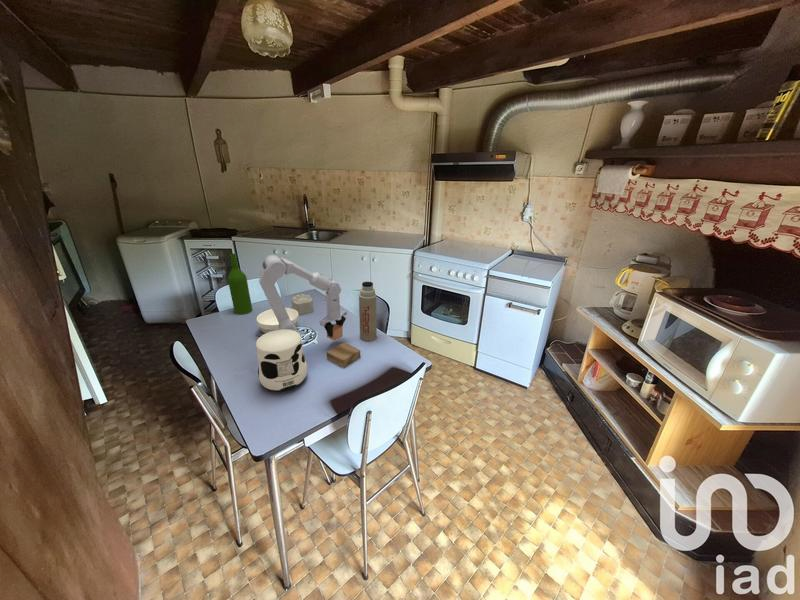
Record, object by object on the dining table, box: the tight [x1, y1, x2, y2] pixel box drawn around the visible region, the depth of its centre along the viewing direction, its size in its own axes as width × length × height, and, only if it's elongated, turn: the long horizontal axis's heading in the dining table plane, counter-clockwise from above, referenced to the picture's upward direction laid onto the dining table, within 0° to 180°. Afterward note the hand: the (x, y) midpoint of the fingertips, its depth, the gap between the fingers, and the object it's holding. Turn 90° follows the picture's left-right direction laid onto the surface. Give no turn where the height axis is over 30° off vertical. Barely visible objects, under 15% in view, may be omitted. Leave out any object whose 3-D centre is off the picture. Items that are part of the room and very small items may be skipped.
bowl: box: [256, 307, 299, 334], centre depth 150 cm, size 19×19×9 cm
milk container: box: [255, 329, 308, 392], centre depth 114 cm, size 17×17×18 cm
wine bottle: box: [227, 253, 253, 316], centre depth 164 cm, size 9×9×32 cm
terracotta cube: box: [326, 323, 344, 341], centre depth 140 cm, size 5×5×5 cm
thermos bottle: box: [358, 281, 377, 342], centre depth 144 cm, size 8×8×28 cm
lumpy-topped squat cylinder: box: [291, 293, 314, 317], centre depth 173 cm, size 10×13×9 cm
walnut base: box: [326, 342, 361, 369], centre depth 132 cm, size 10×10×4 cm
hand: (334, 333), depth 140 cm, fingers closed on terracotta cube, 5 cm apart
